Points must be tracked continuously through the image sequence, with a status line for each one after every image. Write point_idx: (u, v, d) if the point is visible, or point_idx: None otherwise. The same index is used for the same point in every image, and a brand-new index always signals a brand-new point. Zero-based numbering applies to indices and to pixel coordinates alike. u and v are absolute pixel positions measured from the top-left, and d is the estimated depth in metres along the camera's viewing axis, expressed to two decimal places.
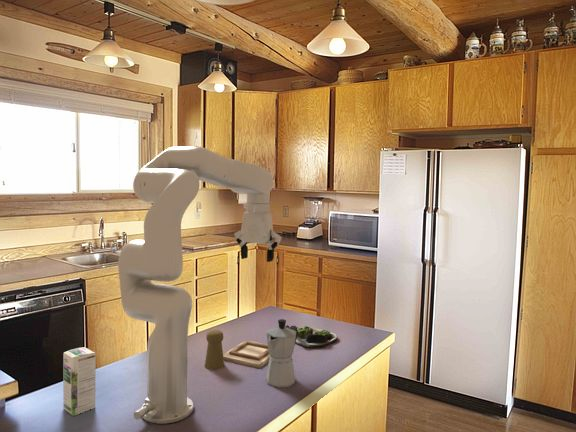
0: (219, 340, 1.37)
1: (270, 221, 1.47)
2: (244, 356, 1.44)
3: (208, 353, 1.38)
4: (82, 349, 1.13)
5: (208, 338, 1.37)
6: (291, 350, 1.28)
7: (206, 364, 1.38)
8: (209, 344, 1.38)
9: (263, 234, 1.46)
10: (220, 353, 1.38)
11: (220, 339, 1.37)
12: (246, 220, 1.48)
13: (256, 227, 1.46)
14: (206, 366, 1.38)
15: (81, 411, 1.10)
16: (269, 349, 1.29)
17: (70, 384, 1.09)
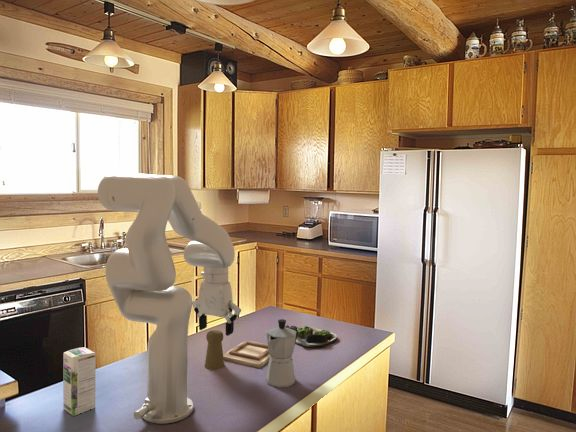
0: (219, 340, 1.37)
1: (229, 292, 1.36)
2: (244, 356, 1.44)
3: (208, 353, 1.38)
4: (82, 349, 1.13)
5: (208, 338, 1.37)
6: (291, 350, 1.28)
7: (206, 364, 1.38)
8: (209, 344, 1.38)
9: (221, 307, 1.34)
10: (220, 353, 1.38)
11: (220, 339, 1.37)
12: (203, 290, 1.37)
13: (213, 299, 1.35)
14: (206, 366, 1.38)
15: (81, 411, 1.10)
16: (269, 349, 1.28)
17: (70, 384, 1.09)
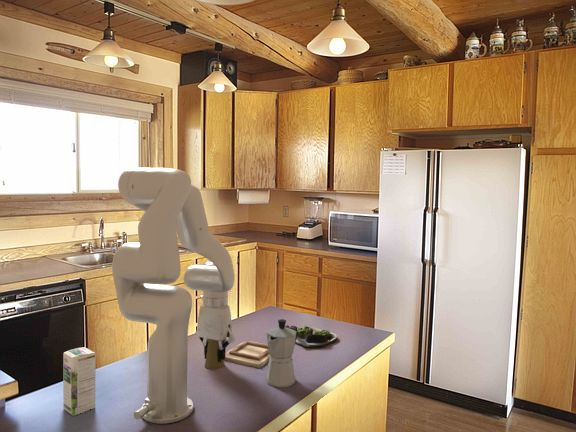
0: None
1: (228, 316, 1.36)
2: (244, 356, 1.44)
3: (208, 353, 1.38)
4: (82, 349, 1.13)
5: None
6: (291, 350, 1.28)
7: (206, 364, 1.38)
8: (209, 344, 1.38)
9: (220, 331, 1.35)
10: None
11: None
12: (202, 314, 1.37)
13: (213, 323, 1.35)
14: (206, 366, 1.38)
15: (81, 411, 1.10)
16: (269, 349, 1.28)
17: (70, 384, 1.09)
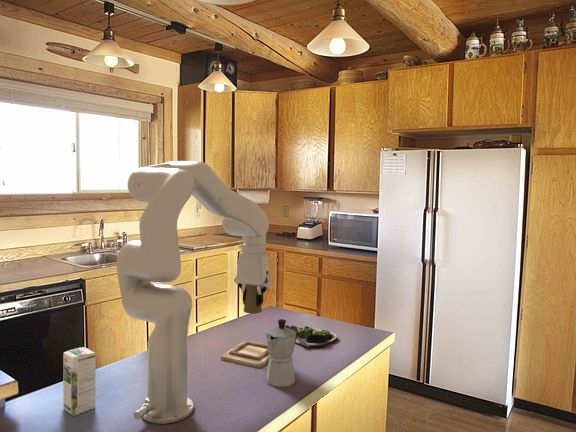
0: None
1: (266, 262, 1.44)
2: (244, 356, 1.44)
3: (247, 298, 1.45)
4: (82, 349, 1.13)
5: None
6: (291, 350, 1.28)
7: (245, 308, 1.46)
8: (248, 289, 1.45)
9: (259, 276, 1.43)
10: None
11: None
12: (242, 261, 1.45)
13: (252, 269, 1.43)
14: (245, 310, 1.46)
15: (81, 411, 1.10)
16: (269, 349, 1.29)
17: (70, 384, 1.09)
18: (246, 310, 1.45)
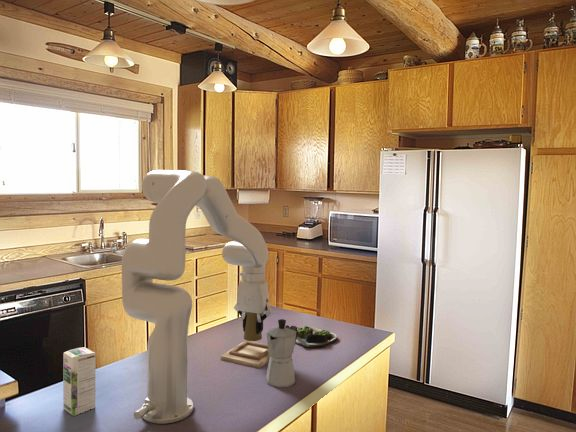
0: None
1: (266, 290, 1.45)
2: (244, 356, 1.44)
3: (247, 325, 1.46)
4: (82, 349, 1.13)
5: None
6: (291, 350, 1.28)
7: (245, 336, 1.47)
8: (248, 317, 1.46)
9: (259, 304, 1.43)
10: None
11: None
12: (242, 289, 1.46)
13: (252, 297, 1.44)
14: (245, 338, 1.47)
15: (81, 411, 1.10)
16: (269, 349, 1.28)
17: (70, 384, 1.09)
18: (246, 337, 1.46)
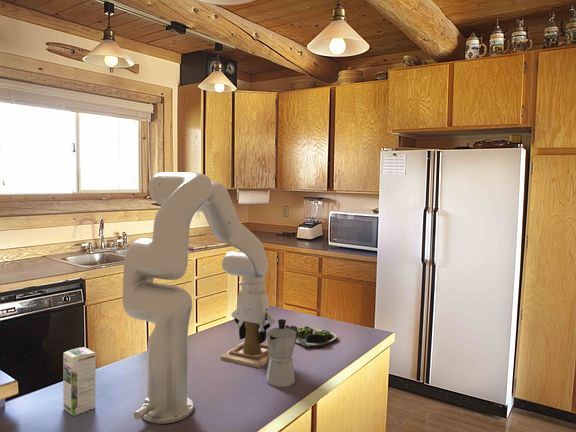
0: (257, 327, 1.46)
1: (266, 300, 1.45)
2: (244, 356, 1.44)
3: (246, 339, 1.47)
4: (82, 349, 1.13)
5: (247, 325, 1.46)
6: (291, 350, 1.28)
7: (244, 350, 1.47)
8: (247, 331, 1.47)
9: (258, 314, 1.44)
10: (258, 339, 1.47)
11: (258, 326, 1.46)
12: (241, 299, 1.46)
13: (251, 307, 1.45)
14: (244, 351, 1.47)
15: (81, 411, 1.10)
16: (269, 349, 1.28)
17: (70, 384, 1.09)
18: (245, 351, 1.46)
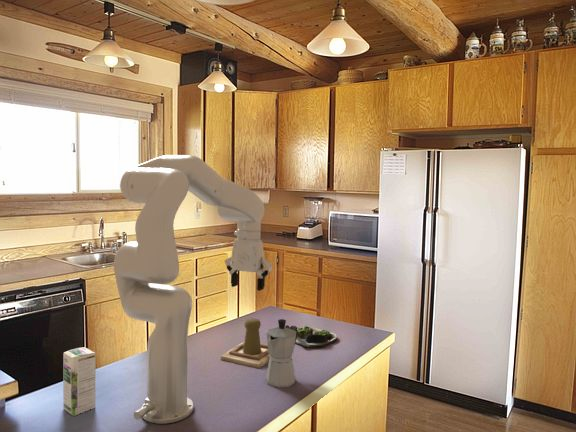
0: (257, 327, 1.46)
1: (261, 249, 1.43)
2: (244, 356, 1.44)
3: (246, 339, 1.47)
4: (82, 349, 1.13)
5: (247, 325, 1.46)
6: (291, 350, 1.28)
7: (244, 350, 1.47)
8: (247, 331, 1.47)
9: (253, 262, 1.42)
10: (258, 339, 1.47)
11: (258, 326, 1.46)
12: (236, 247, 1.44)
13: (246, 255, 1.43)
14: (245, 352, 1.47)
15: (81, 411, 1.10)
16: (269, 349, 1.29)
17: (70, 384, 1.09)
18: (245, 351, 1.46)
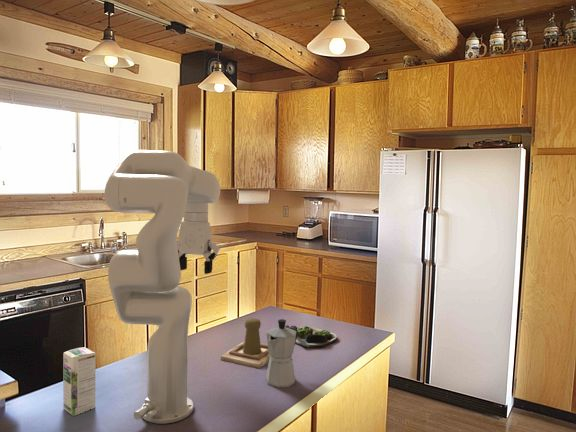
0: (257, 327, 1.46)
1: (208, 231, 1.40)
2: (244, 356, 1.44)
3: (246, 339, 1.47)
4: (82, 349, 1.13)
5: (247, 325, 1.46)
6: (291, 350, 1.28)
7: (245, 350, 1.47)
8: (247, 331, 1.47)
9: (200, 245, 1.38)
10: (258, 339, 1.47)
11: (258, 326, 1.46)
12: (183, 230, 1.40)
13: (193, 237, 1.39)
14: (245, 351, 1.47)
15: (81, 411, 1.10)
16: (269, 349, 1.28)
17: (70, 384, 1.09)
18: (245, 351, 1.46)
